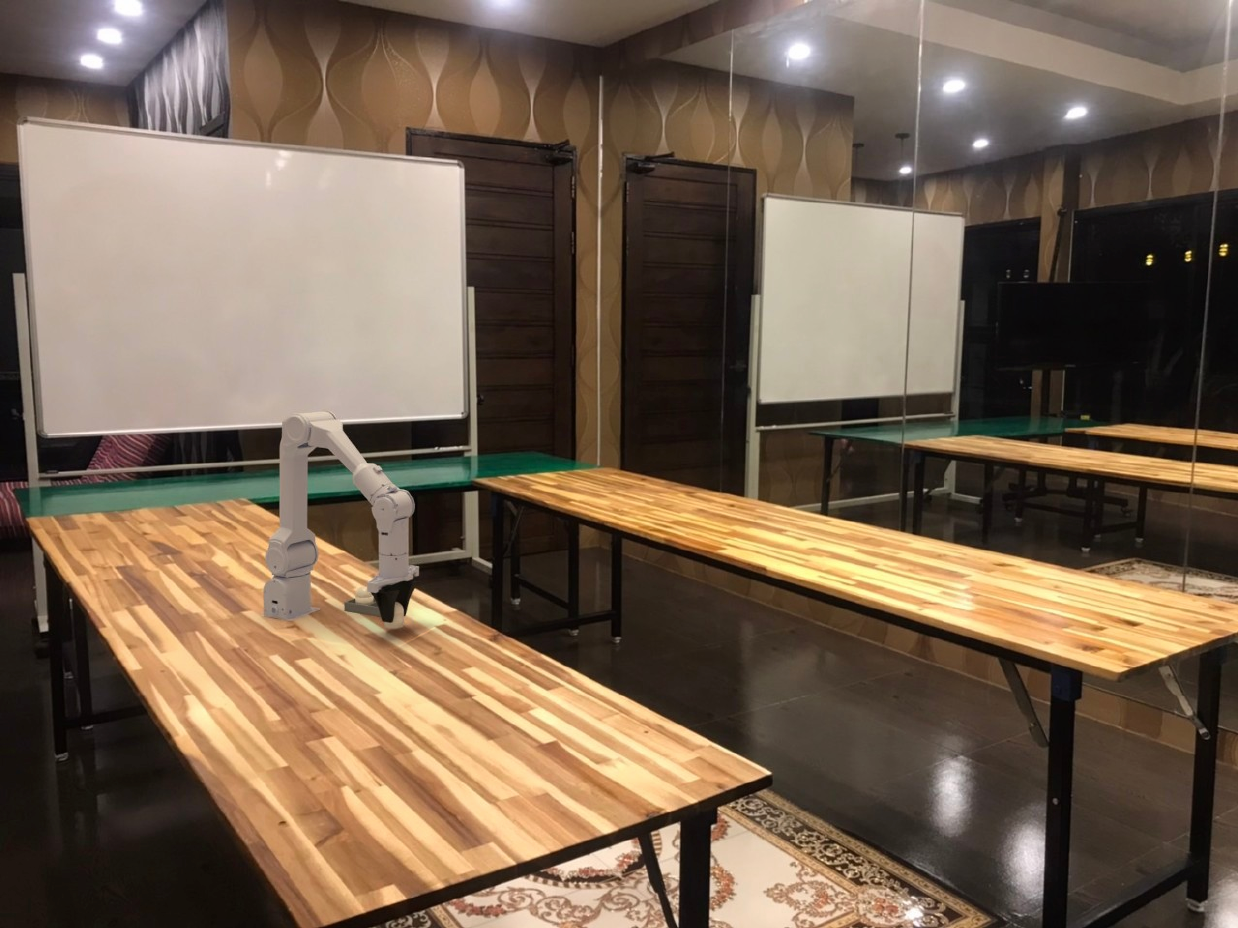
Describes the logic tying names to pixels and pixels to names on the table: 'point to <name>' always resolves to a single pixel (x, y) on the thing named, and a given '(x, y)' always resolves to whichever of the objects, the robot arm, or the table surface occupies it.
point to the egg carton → (362, 608)
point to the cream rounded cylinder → (396, 618)
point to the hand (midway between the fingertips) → (394, 618)
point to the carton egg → (363, 596)
